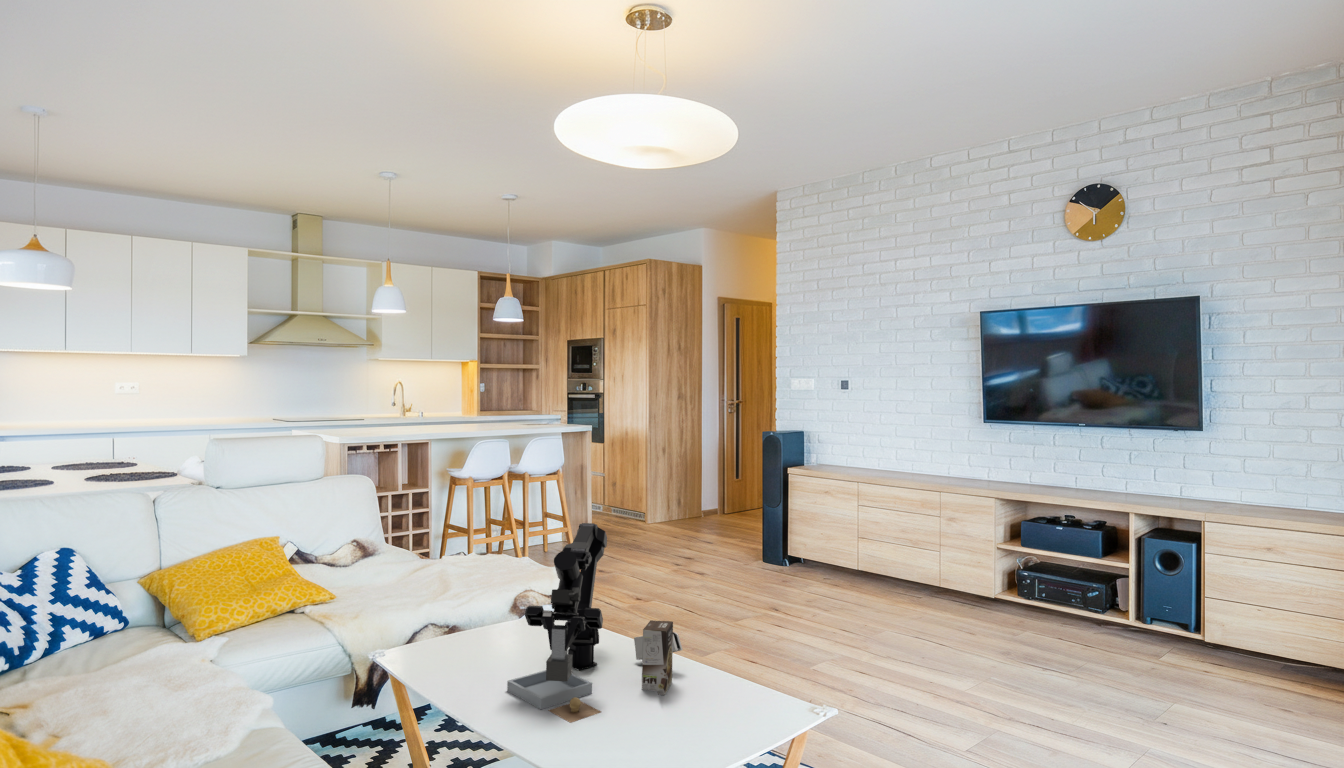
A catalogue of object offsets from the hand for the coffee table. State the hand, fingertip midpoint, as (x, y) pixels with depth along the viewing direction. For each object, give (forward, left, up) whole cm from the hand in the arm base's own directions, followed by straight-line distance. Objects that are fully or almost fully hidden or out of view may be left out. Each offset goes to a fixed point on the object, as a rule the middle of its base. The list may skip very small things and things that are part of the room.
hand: (558, 649), depth 185 cm
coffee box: (-27, +6, -14) cm, 31 cm away
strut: (-1, -1, -7) cm, 7 cm away
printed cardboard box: (-35, -11, -12) cm, 38 cm away
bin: (-3, -7, -14) cm, 16 cm away
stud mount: (-1, +6, -14) cm, 15 cm away
